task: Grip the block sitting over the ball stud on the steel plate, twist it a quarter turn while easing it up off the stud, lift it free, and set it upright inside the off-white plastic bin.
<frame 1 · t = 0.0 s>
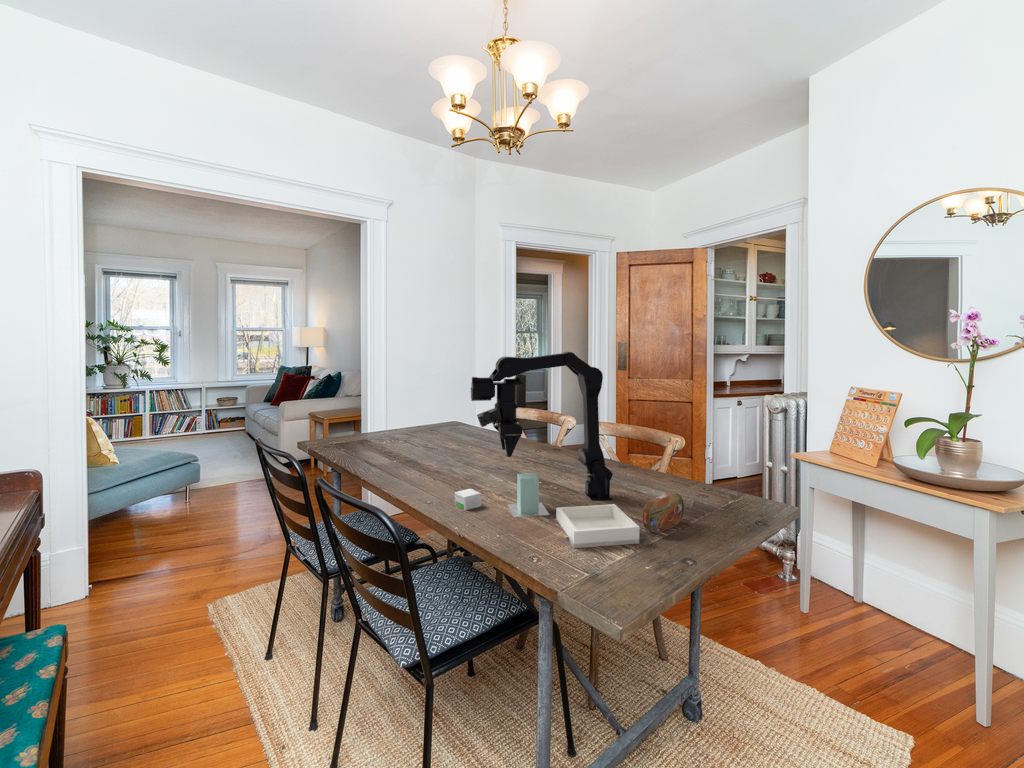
hand: (506, 453, 143), 15 cm above the table, tool pointing down, fingers open, 9 cm apart
block: (527, 509, 136), point 1 cm above the table, touching stud plate
tin: (662, 528, 125), on the table
small box: (468, 509, 139), on the table
bin: (595, 532, 122), on the table
stud plate: (527, 512, 136), on the table
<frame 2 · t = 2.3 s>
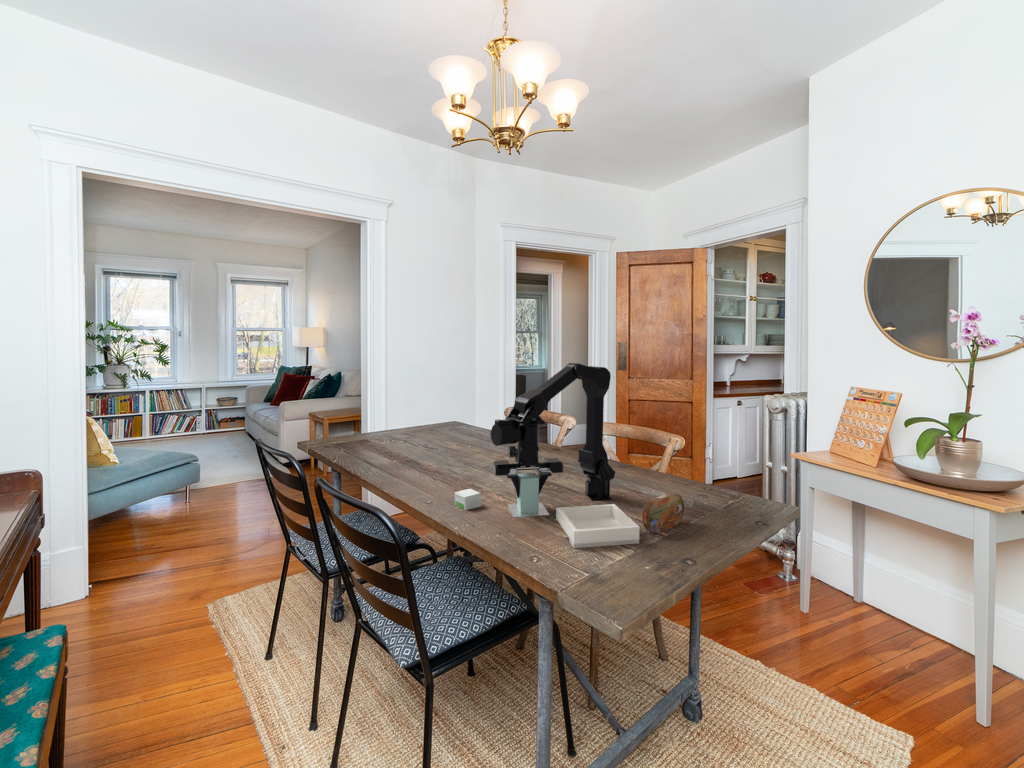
hand: (527, 497, 135), 5 cm above the table, tool pointing down, fingers closed on block, 5 cm apart
block: (527, 509, 136), point 1 cm above the table, touching gripper, stud plate
everything else where it was.
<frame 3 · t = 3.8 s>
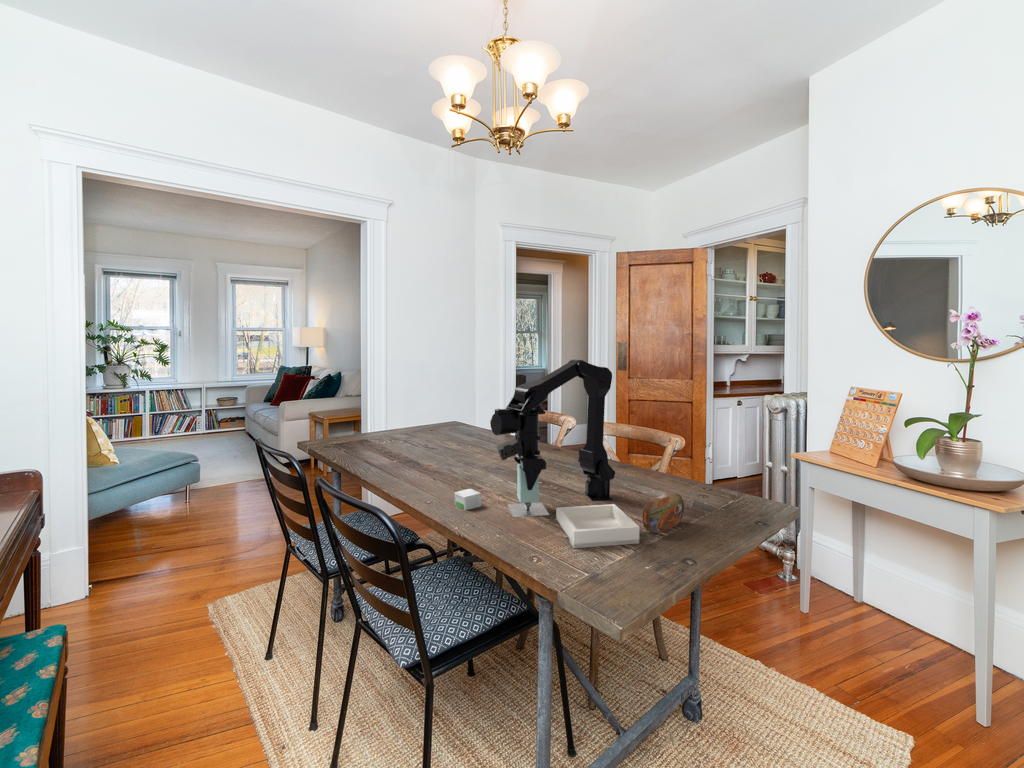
hand: (527, 487, 135), 7 cm above the table, tool pointing down, fingers closed on block, 5 cm apart
block: (527, 499, 135), point 4 cm above the table, touching gripper
everything else where it was.
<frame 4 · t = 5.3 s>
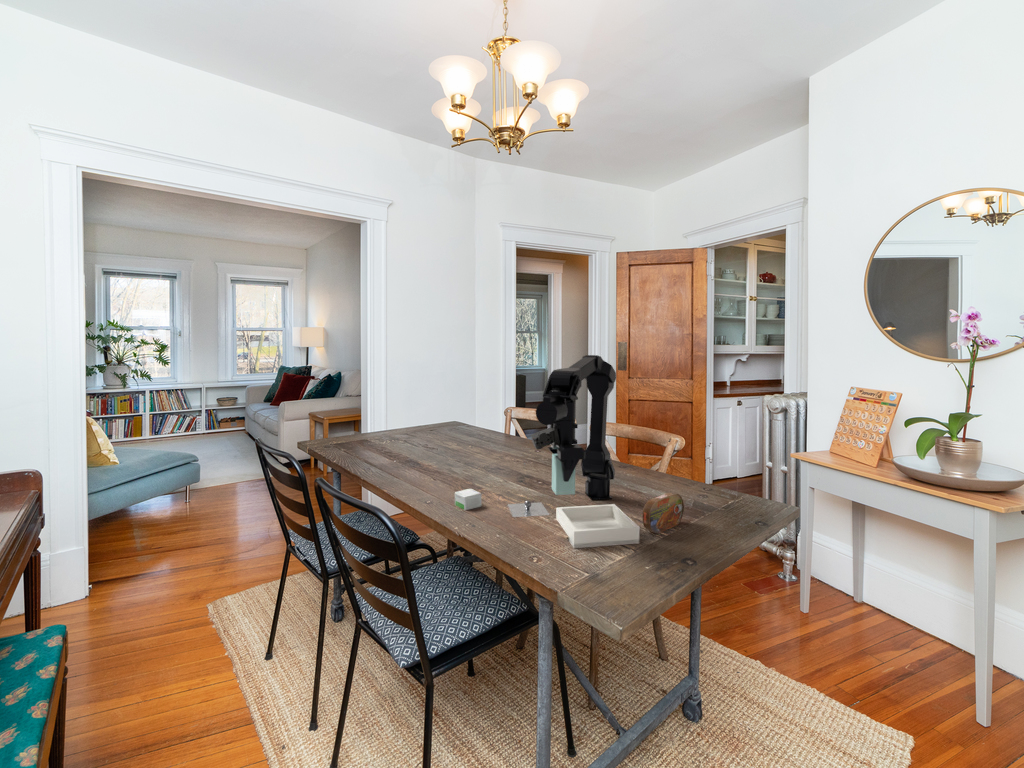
hand: (563, 478, 127), 12 cm above the table, tool pointing down, fingers closed on block, 5 cm apart
block: (563, 491, 127), point 8 cm above the table, touching gripper
everything else where it was.
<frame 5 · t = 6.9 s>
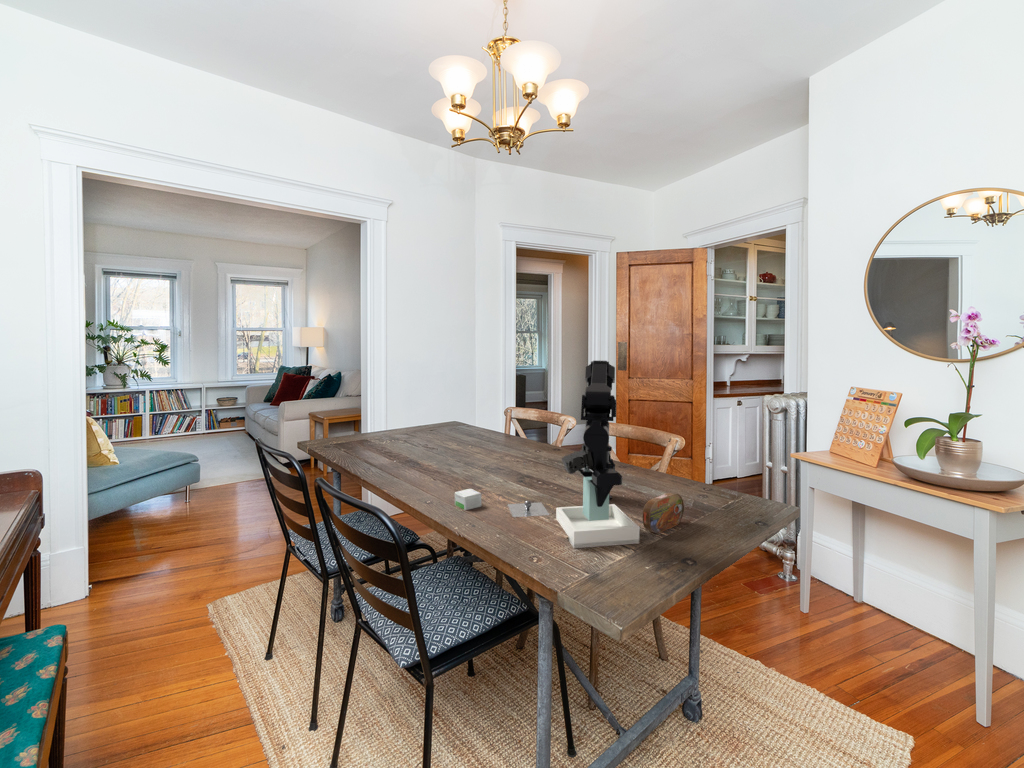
hand: (595, 502, 122), 8 cm above the table, tool pointing down, fingers closed on block, 5 cm apart
block: (595, 516, 122), point 4 cm above the table, touching gripper
everything else where it was.
when the fingers open (6 cm above the table, at t = 8.0 s): block drops 1 cm, resting on bin.
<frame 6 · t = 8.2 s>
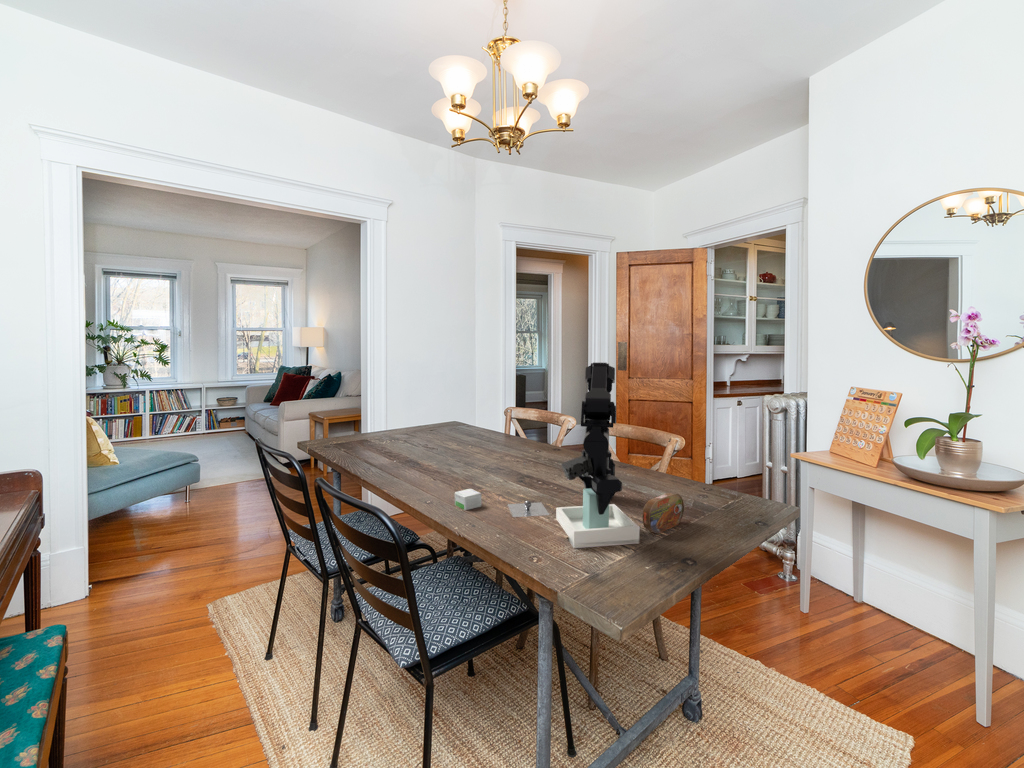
hand: (595, 508, 122), 6 cm above the table, tool pointing down, fingers open, 7 cm apart
block: (595, 528, 122), point 1 cm above the table, touching bin
everything else where it was.
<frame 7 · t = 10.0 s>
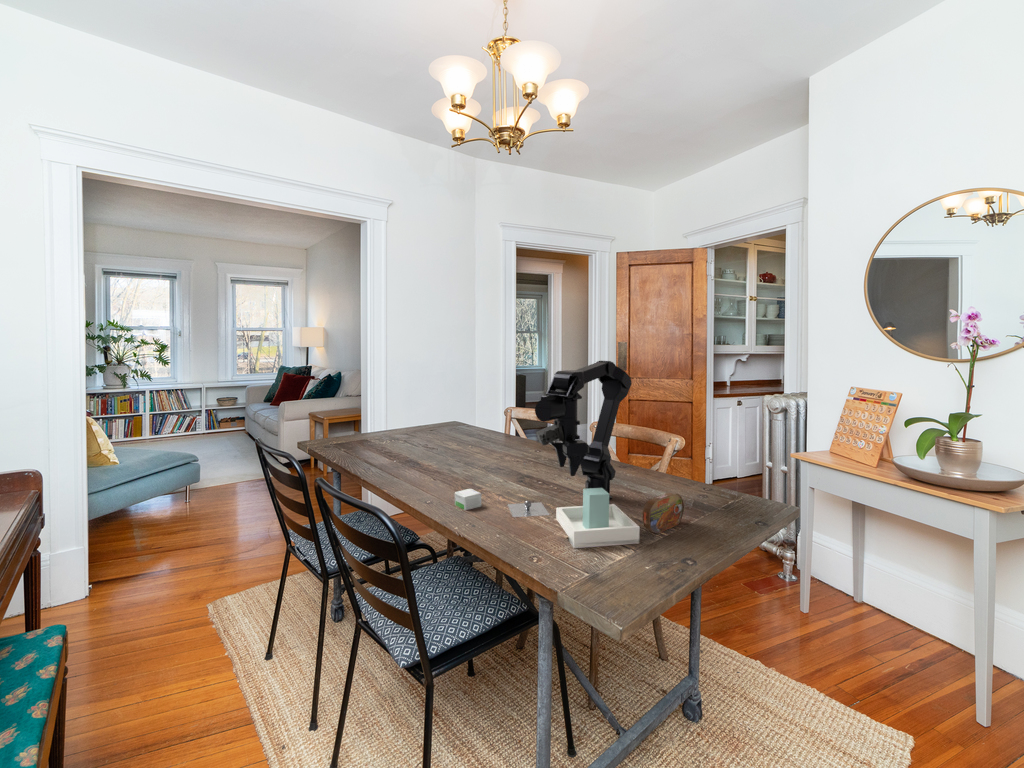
hand: (567, 471, 137), 11 cm above the table, tool pointing down, fingers open, 9 cm apart
nothing on the table moved.
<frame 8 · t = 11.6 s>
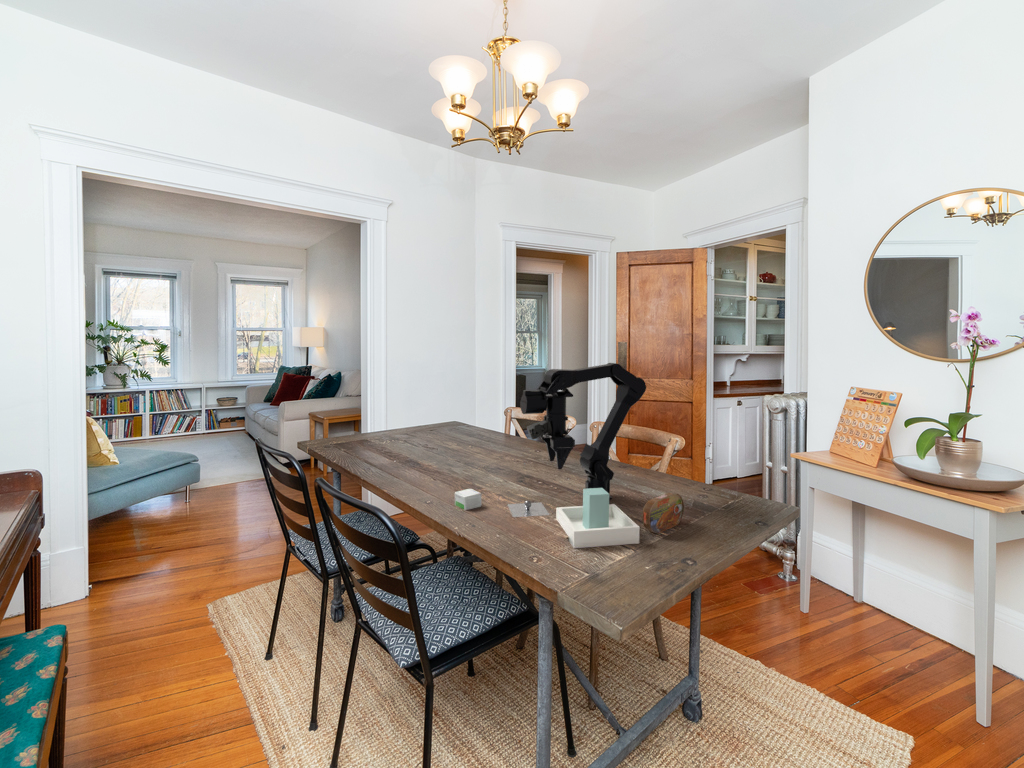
hand: (555, 464, 144), 11 cm above the table, tool pointing down, fingers open, 9 cm apart
nothing on the table moved.
at the end: block inside the target area on the bin (0.0 cm from its centre), point 1.0 cm above the bin's base; block tilted 0°; the gripper is holding nothing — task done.
